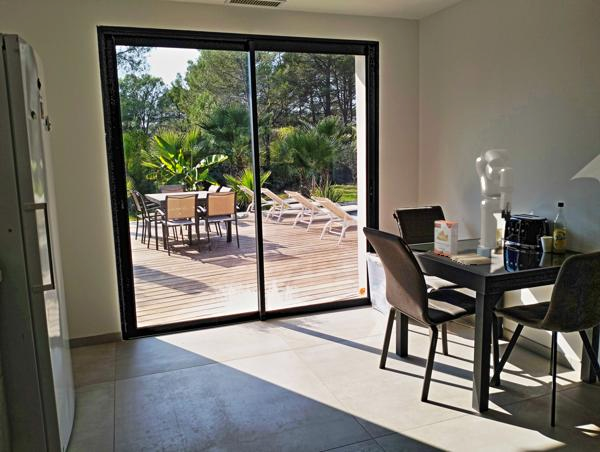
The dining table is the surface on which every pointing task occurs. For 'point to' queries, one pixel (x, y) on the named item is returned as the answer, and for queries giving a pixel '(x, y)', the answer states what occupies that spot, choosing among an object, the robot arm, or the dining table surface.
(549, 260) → the dining table surface
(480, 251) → the slate block
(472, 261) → the birch base
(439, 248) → the cracker box
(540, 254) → the dining table surface
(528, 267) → the dining table surface
